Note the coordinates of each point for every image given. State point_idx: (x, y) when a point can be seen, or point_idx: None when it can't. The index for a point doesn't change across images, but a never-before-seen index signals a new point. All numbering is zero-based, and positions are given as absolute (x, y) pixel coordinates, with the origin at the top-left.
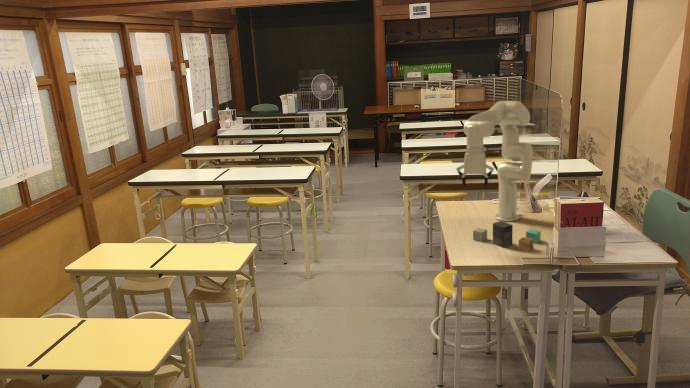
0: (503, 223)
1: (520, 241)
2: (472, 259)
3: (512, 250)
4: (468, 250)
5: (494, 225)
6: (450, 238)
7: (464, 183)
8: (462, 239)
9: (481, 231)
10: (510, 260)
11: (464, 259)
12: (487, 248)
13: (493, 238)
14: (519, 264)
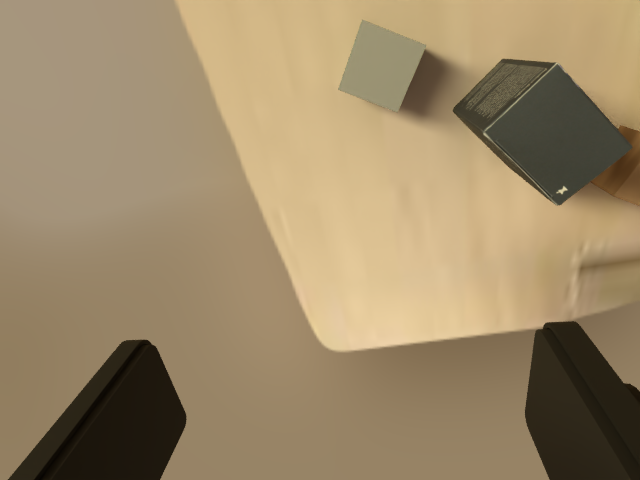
0: (565, 134)
1: (619, 197)
2: (374, 308)
3: None
4: (343, 228)
5: (491, 142)
6: (220, 89)
7: (158, 464)
8: (284, 89)
9: (391, 91)
10: (525, 295)
11: (344, 312)
12: (427, 188)
13: (462, 119)
14: None
